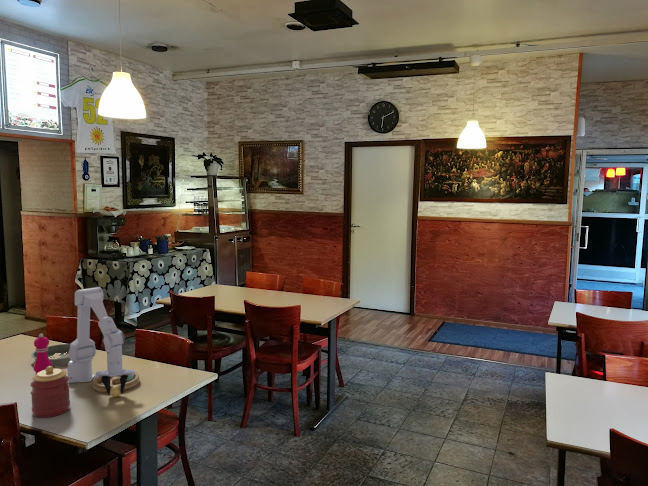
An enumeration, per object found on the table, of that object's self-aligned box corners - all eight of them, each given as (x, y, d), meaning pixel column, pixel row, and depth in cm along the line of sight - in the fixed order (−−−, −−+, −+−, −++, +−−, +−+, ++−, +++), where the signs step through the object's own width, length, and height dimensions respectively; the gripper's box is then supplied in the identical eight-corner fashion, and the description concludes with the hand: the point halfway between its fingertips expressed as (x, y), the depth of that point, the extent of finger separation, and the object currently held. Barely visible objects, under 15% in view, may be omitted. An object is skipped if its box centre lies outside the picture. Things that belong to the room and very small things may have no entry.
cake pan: (20, 362, 242) (20, 353, 242) (67, 349, 264) (66, 340, 264) (52, 371, 231) (51, 362, 231) (97, 356, 253) (97, 348, 252)
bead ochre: (108, 399, 201) (108, 388, 200) (111, 394, 205) (111, 383, 205) (120, 398, 201) (120, 387, 201) (123, 393, 206) (122, 383, 205)
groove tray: (87, 393, 206) (87, 387, 205) (100, 377, 224) (100, 371, 223) (133, 391, 208) (133, 385, 208) (142, 375, 227) (142, 369, 226)
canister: (61, 400, 199) (59, 358, 197) (76, 409, 190) (74, 365, 189) (26, 411, 189) (23, 366, 187) (40, 421, 180) (37, 375, 179)
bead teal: (121, 384, 214) (121, 374, 214) (124, 380, 219) (123, 370, 218) (132, 384, 215) (132, 374, 214) (134, 380, 219) (134, 370, 219)
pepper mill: (55, 374, 227) (53, 331, 225) (45, 379, 220) (43, 336, 218) (41, 373, 228) (39, 331, 226) (30, 379, 221) (28, 335, 219)
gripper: (92, 365, 197) (94, 398, 198) (131, 363, 199) (132, 396, 200) (98, 359, 204) (99, 391, 205) (134, 357, 206) (135, 389, 207)
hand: (115, 393), depth 203 cm, fingers closed on bead ochre, 5 cm apart
